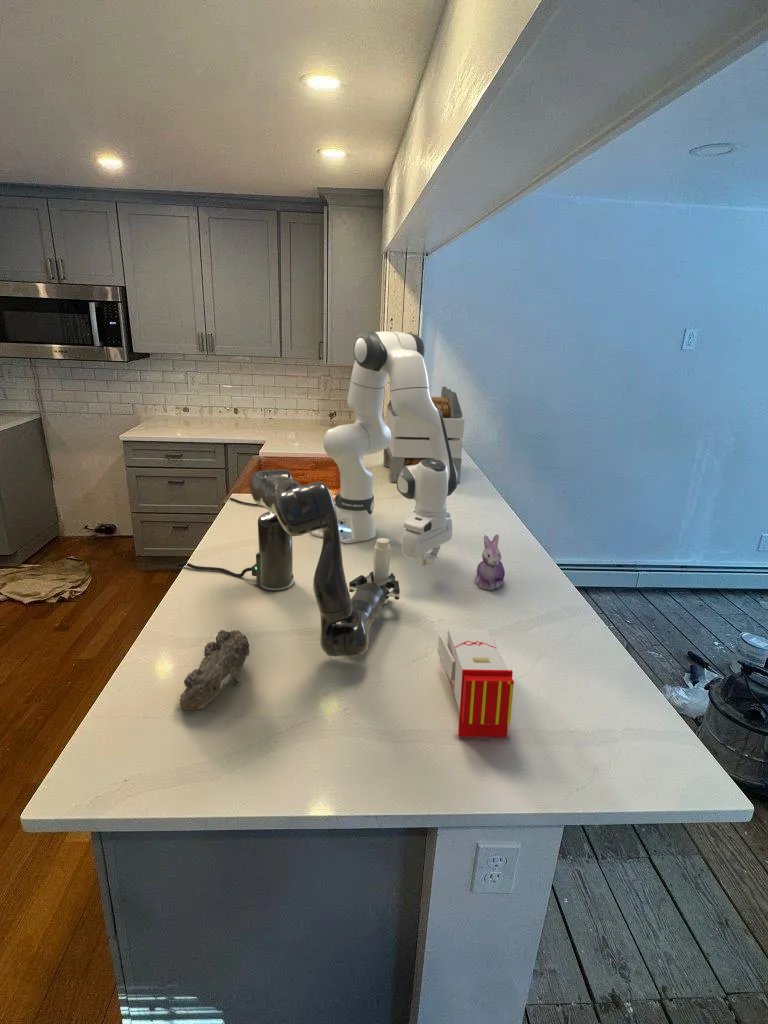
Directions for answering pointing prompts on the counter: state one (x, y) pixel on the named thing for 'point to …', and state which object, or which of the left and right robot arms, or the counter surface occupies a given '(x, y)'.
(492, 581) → the figurine
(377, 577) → the cream cylinder
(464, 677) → the toy
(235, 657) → the fossil
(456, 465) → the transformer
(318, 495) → the left robot arm
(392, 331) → the right robot arm
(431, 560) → the lid
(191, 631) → the counter surface
